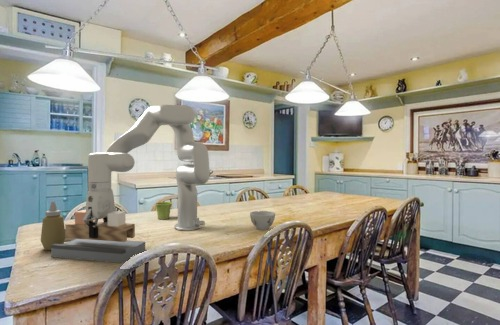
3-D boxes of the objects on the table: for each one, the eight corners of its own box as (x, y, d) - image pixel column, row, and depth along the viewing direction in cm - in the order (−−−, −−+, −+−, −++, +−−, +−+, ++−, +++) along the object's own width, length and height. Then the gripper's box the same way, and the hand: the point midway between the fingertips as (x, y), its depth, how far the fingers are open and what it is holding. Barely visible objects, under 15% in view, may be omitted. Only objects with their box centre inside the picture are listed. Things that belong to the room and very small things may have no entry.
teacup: (280, 229, 142) (280, 213, 141) (262, 233, 133) (262, 216, 133) (259, 223, 153) (259, 208, 153) (241, 227, 145) (241, 211, 145)
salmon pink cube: (93, 221, 108) (93, 210, 108) (84, 224, 104) (84, 212, 104) (84, 221, 109) (84, 209, 109) (75, 224, 105) (74, 211, 104)
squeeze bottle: (48, 244, 114) (48, 199, 113) (70, 244, 115) (69, 199, 114) (35, 251, 106) (34, 203, 105) (58, 251, 107) (58, 203, 106)
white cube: (125, 223, 106) (125, 211, 106) (117, 226, 101) (117, 214, 101) (115, 223, 107) (115, 211, 106) (107, 226, 102) (107, 213, 102)
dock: (145, 249, 110) (145, 238, 110) (122, 262, 96) (122, 250, 96) (81, 244, 115) (81, 234, 115) (51, 256, 101) (51, 244, 101)
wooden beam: (134, 237, 106) (134, 223, 106) (124, 241, 100) (124, 227, 100) (78, 233, 110) (77, 220, 110) (65, 237, 104) (65, 224, 104)
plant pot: (165, 215, 169) (165, 201, 169) (175, 218, 163) (175, 203, 163) (151, 218, 161) (151, 203, 161) (162, 221, 156) (162, 205, 155)
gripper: (92, 189, 96) (92, 243, 96) (123, 184, 113) (123, 229, 113) (72, 188, 97) (72, 241, 97) (106, 183, 114) (106, 228, 114)
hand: (100, 234), depth 105 cm, fingers closed on wooden beam, 6 cm apart
